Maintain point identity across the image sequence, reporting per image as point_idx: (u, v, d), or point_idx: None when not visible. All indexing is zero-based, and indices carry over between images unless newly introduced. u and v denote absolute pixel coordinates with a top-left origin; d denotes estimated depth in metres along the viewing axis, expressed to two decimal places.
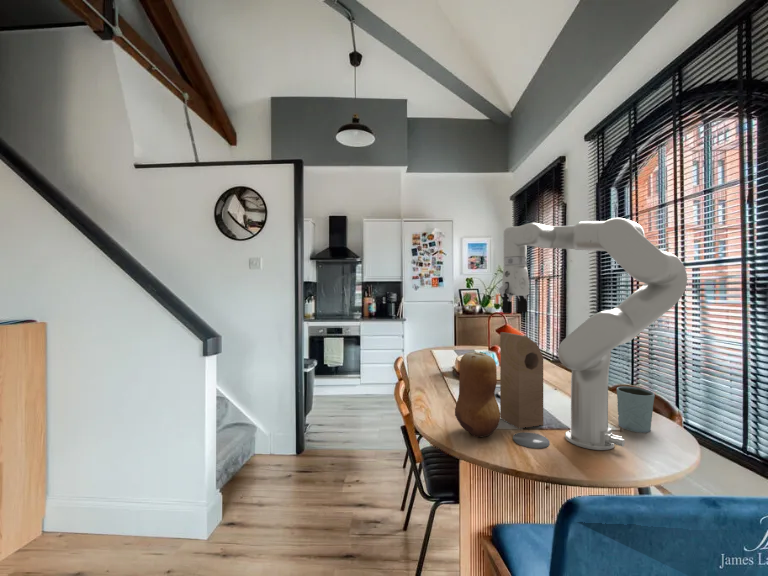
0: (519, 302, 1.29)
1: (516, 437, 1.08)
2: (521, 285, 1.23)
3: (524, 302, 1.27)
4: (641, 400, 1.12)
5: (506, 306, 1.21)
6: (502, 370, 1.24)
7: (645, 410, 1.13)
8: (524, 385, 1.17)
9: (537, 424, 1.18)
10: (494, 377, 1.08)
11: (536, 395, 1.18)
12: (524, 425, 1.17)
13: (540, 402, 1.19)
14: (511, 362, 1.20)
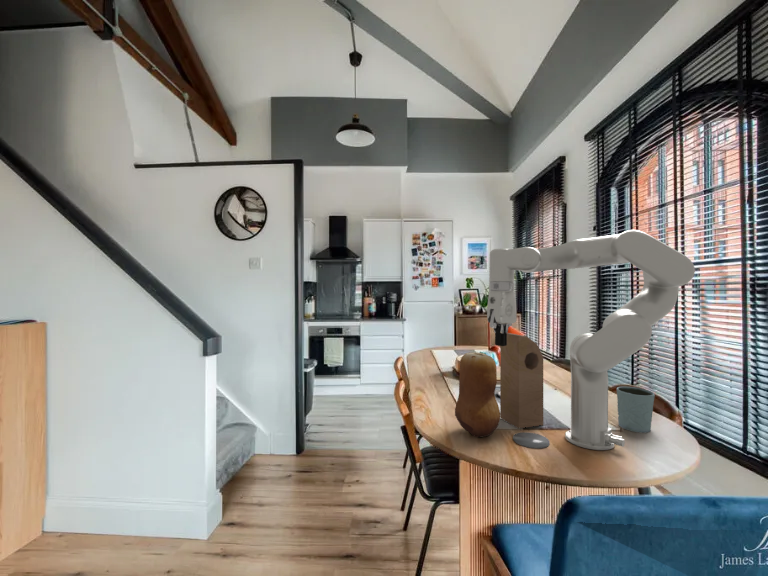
0: None
1: (516, 437, 1.08)
2: (507, 312, 1.13)
3: None
4: (641, 400, 1.12)
5: (499, 338, 1.14)
6: (502, 370, 1.24)
7: (645, 410, 1.13)
8: (524, 385, 1.17)
9: (537, 424, 1.18)
10: (494, 377, 1.08)
11: (536, 395, 1.18)
12: (524, 425, 1.17)
13: (540, 402, 1.19)
14: (511, 362, 1.20)
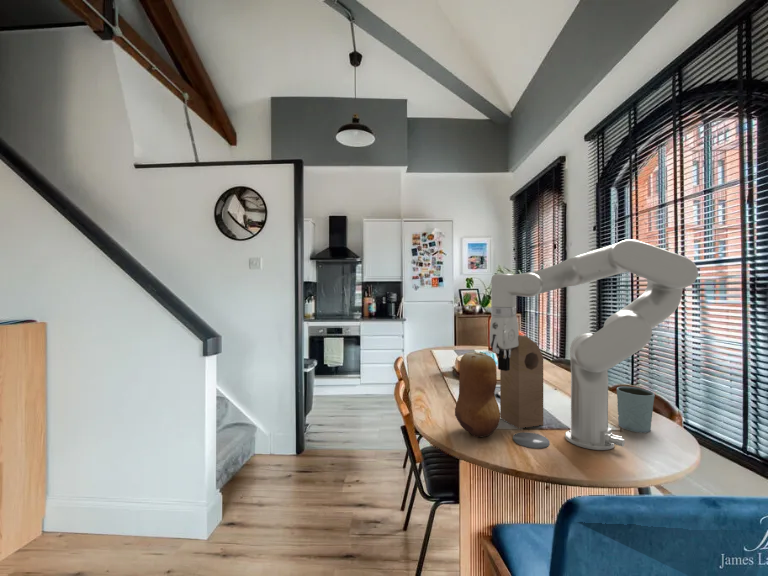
0: None
1: (516, 437, 1.08)
2: (510, 338, 1.13)
3: None
4: (641, 400, 1.12)
5: (502, 363, 1.14)
6: (502, 370, 1.24)
7: (645, 410, 1.13)
8: (524, 385, 1.17)
9: (537, 424, 1.18)
10: (494, 377, 1.08)
11: (536, 395, 1.18)
12: (524, 425, 1.17)
13: (540, 402, 1.19)
14: (511, 362, 1.20)
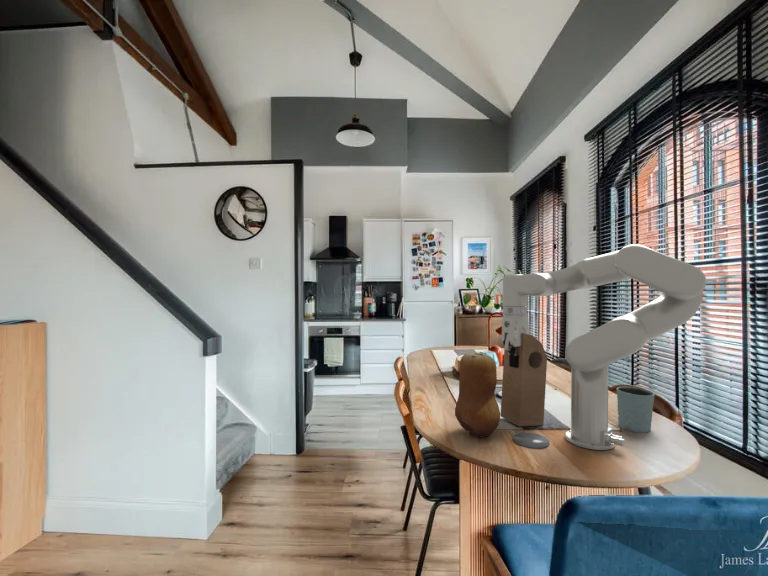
0: None
1: (516, 437, 1.08)
2: (521, 336, 1.17)
3: None
4: (641, 400, 1.12)
5: (513, 360, 1.18)
6: (505, 368, 1.24)
7: (645, 410, 1.13)
8: (527, 383, 1.17)
9: (537, 423, 1.18)
10: (494, 377, 1.08)
11: (538, 394, 1.18)
12: (524, 423, 1.17)
13: (541, 402, 1.19)
14: None
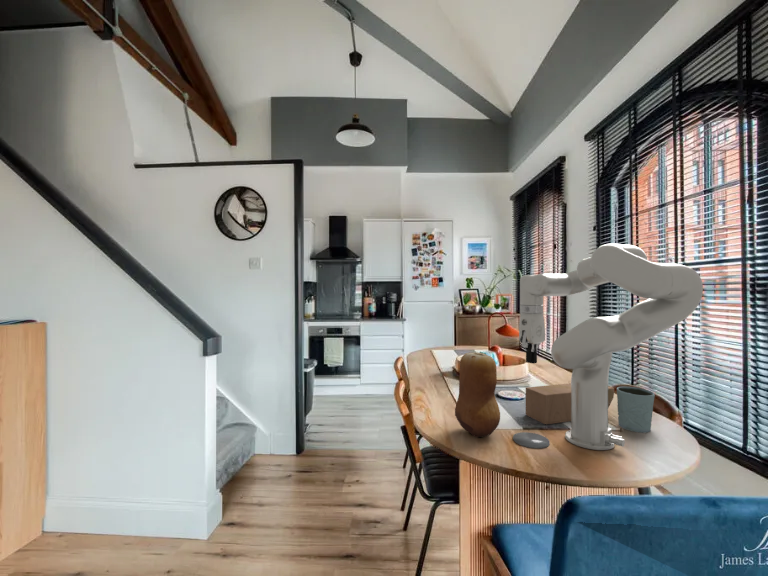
0: None
1: (516, 437, 1.08)
2: (538, 333, 1.24)
3: None
4: (641, 400, 1.12)
5: (530, 356, 1.25)
6: (566, 384, 1.32)
7: (645, 410, 1.13)
8: None
9: (546, 417, 1.19)
10: (494, 377, 1.08)
11: (569, 413, 1.22)
12: (547, 401, 1.20)
13: (563, 418, 1.22)
14: None
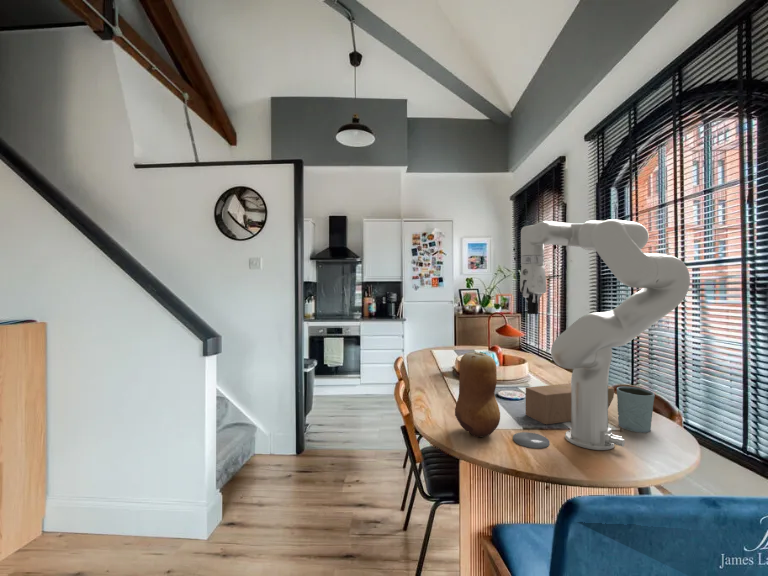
0: None
1: (516, 437, 1.08)
2: (539, 283, 1.24)
3: None
4: (641, 400, 1.12)
5: (531, 307, 1.25)
6: (566, 384, 1.32)
7: (645, 410, 1.13)
8: None
9: (546, 417, 1.19)
10: (494, 377, 1.08)
11: (569, 413, 1.22)
12: (547, 401, 1.20)
13: (563, 418, 1.22)
14: None
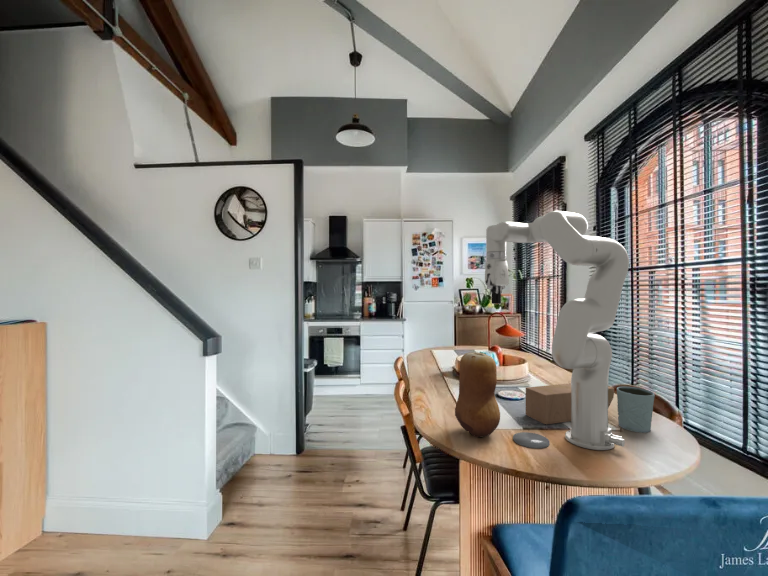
0: None
1: (516, 437, 1.08)
2: (501, 276, 1.40)
3: None
4: (641, 400, 1.12)
5: (494, 298, 1.41)
6: (566, 384, 1.32)
7: (645, 410, 1.13)
8: None
9: (546, 417, 1.19)
10: (494, 377, 1.08)
11: (569, 413, 1.22)
12: (547, 401, 1.20)
13: (563, 418, 1.22)
14: None
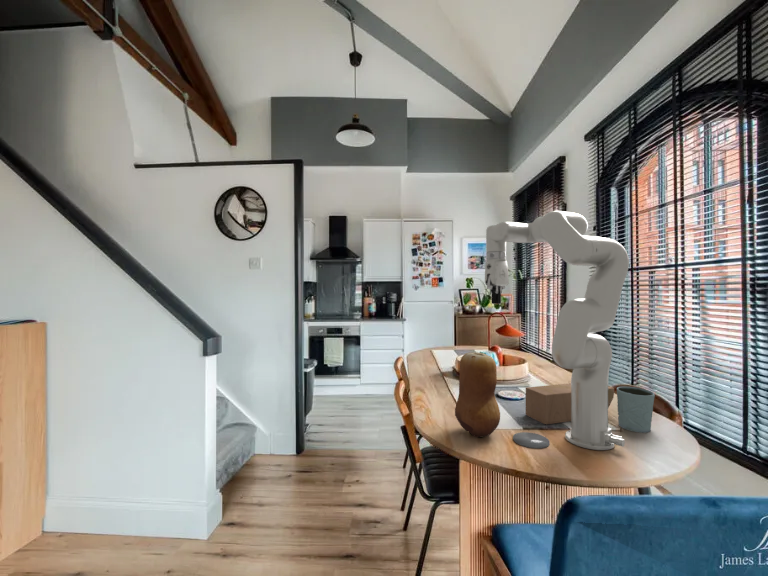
0: None
1: (516, 437, 1.08)
2: (501, 276, 1.40)
3: None
4: (641, 400, 1.12)
5: (494, 298, 1.41)
6: (566, 384, 1.32)
7: (645, 410, 1.13)
8: None
9: (546, 417, 1.19)
10: (494, 377, 1.08)
11: (569, 413, 1.22)
12: (547, 401, 1.20)
13: (563, 418, 1.22)
14: None
